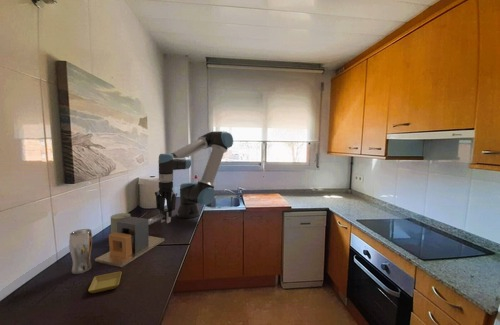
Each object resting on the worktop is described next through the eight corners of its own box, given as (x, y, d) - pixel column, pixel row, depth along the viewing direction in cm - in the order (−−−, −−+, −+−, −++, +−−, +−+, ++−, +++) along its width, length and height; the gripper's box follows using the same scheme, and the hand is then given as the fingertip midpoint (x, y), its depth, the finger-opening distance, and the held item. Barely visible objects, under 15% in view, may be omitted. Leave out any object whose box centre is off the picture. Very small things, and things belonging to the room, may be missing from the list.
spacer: (116, 250, 96) (114, 231, 95) (132, 254, 93) (131, 234, 92) (109, 254, 93) (108, 234, 92) (126, 257, 90) (125, 237, 89)
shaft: (165, 217, 123) (165, 208, 123) (170, 217, 123) (170, 209, 122) (127, 235, 98) (127, 224, 97) (132, 236, 97) (132, 225, 96)
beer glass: (74, 266, 85) (72, 229, 84) (95, 263, 88) (94, 227, 86) (67, 276, 78) (65, 237, 77) (90, 272, 81) (89, 234, 80)
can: (121, 241, 107) (121, 218, 107) (106, 239, 109) (105, 216, 108) (134, 234, 116) (134, 212, 116) (120, 232, 118) (120, 211, 117)
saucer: (87, 297, 69) (87, 291, 69) (94, 281, 77) (94, 275, 77) (118, 290, 72) (118, 284, 72) (122, 276, 80) (122, 270, 80)
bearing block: (142, 236, 114) (142, 210, 113) (164, 240, 110) (164, 214, 109) (94, 261, 89) (94, 228, 88) (121, 267, 85) (121, 233, 84)
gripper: (149, 181, 118) (149, 222, 120) (174, 183, 114) (173, 226, 116) (158, 179, 125) (158, 218, 127) (182, 181, 121) (182, 221, 123)
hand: (165, 221), depth 121 cm, fingers closed on shaft, 3 cm apart
